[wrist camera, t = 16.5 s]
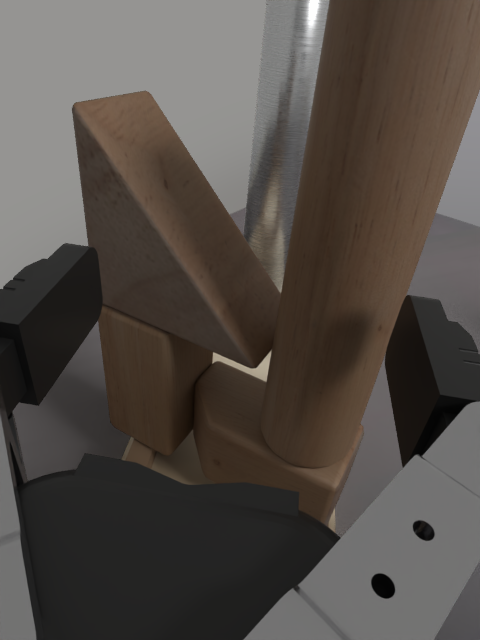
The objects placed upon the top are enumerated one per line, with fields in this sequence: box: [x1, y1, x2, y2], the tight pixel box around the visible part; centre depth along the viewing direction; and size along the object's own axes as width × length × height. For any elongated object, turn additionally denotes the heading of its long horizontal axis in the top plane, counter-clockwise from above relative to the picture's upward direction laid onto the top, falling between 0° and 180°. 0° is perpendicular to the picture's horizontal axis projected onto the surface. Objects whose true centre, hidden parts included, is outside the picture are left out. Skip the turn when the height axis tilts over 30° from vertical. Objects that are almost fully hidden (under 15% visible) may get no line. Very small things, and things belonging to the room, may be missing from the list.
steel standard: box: [243, 0, 330, 293], centre depth 24 cm, size 7×7×31 cm
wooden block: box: [72, 0, 480, 526], centre depth 16 cm, size 4×11×18 cm, turn 61°
